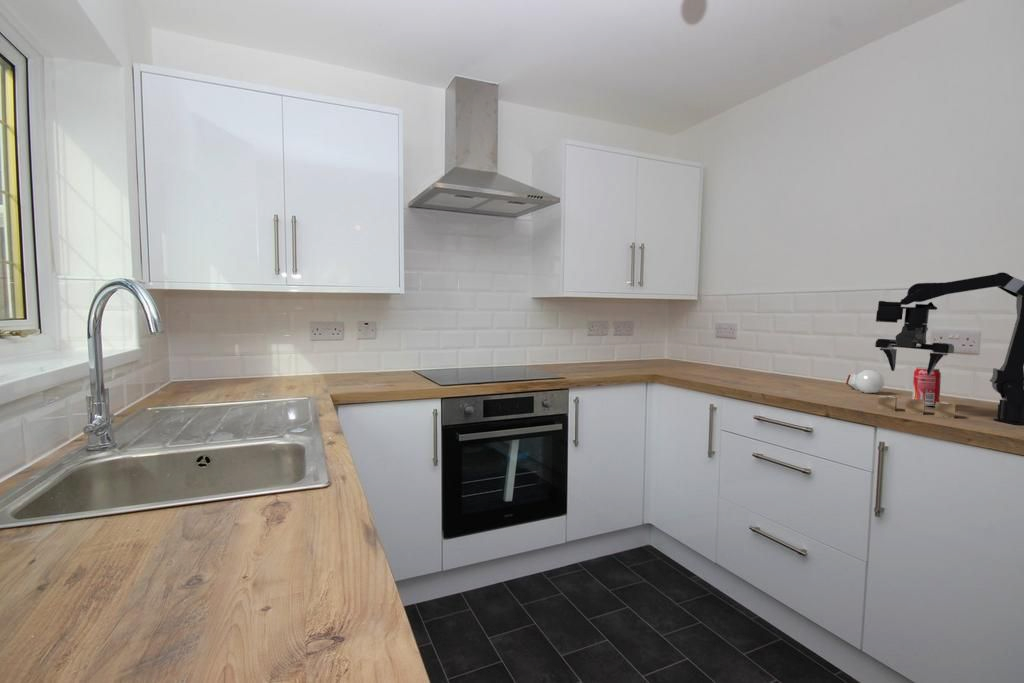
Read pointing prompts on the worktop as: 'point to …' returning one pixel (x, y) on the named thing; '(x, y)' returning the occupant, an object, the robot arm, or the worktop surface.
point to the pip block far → (887, 402)
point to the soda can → (927, 385)
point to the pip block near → (945, 409)
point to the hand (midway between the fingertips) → (910, 372)
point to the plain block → (915, 405)
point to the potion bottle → (866, 381)
